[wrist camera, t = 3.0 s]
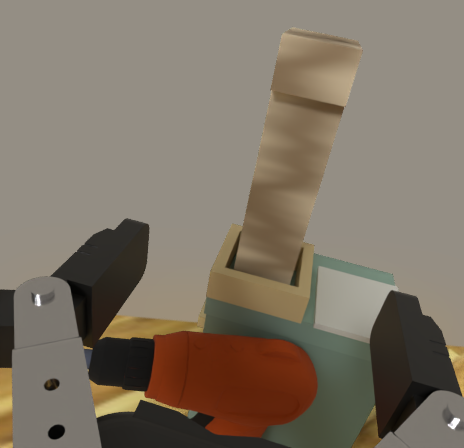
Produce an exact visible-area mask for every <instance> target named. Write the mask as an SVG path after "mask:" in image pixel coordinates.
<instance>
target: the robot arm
mask: <svg viewBox="0 0 464 448" xmlns="http://www.w3.org/2000/svg"><path fill="white" fill-rule="evenodd" d="M148 241H149V225H148V224H146V223H143V222H139V221H135V220H131V219H128V218H127V219H125V220H124V221H123V222H122V223H121V224H120V225H119V226H118V227H117V228H116V229H115V230H111V229H108V228H107V229H105V230H103V231H100V232H98V233H96V234H94V235H93V236H92V237H91V238H90V239H89V240H87V241H86V243H85V245H82V246H81V247H80V248H79V249H78V250H77V252H75V253H74V254H73V255H72V256H71V257H70V258H69V259H68V260H67V261H66V262H65V263H64V264H63V265H62V266H61V267H60V268H59V269H58V270H56V271H55V272H54V273H53V274H52V275H51V276H50V277H38V278H34V279H31V280H28V281H26V282H24V283H23V284H21V285H20V286H19V287H18V288H17V290H0V368H12V397H13V448H291V447H288V446H285V445H282V444H279V443H275V442H272V441H269V440H266V439H263V438H260V437H246V436H230V435H217V434H214V433H212V432H210V431H209V430H207V429H206V428H204V427H202V426H201V425H199V424H197V423H196V422H194V421H193V420H191V419H189V418H188V417H186V416H185V415H183V414H181V413H180V412H178V411H175V410H171V409H168V408H165V407H162V406H159V405H156V404H153V403H149V402H146V401H143V400H140V402H139V404H138V406H137V408H136V411H135V412H118V413H112V414H107V415H104V416H101V417H98V418H96V414H95V408H94V403H93V397H92V392H91V387H90V381H89V376H88V370H87V365H86V359H85V354H84V348H83V346H87V347H90V348H93V347H94V346H95V344H96V343H97V341H98V340H99V338H100V337H101V336H102V334H103V333H104V331H105V330H106V328H107V327H108V326H109V324H110V323H111V321H112V320H113V318H114V317H115V316H116V314H117V313H118V311H119V310H120V308H121V307H122V305H123V304H124V303H125V301H126V300H127V298H128V297H129V296H130V294H131V293H132V291H133V290H134V288H135V287H136V285H137V284H138V283H139V281H140V280H141V278H142V276H143V274H144V271H145V268H146V264H147V253H148ZM445 345H446V343H445V340H444V337H443V334H442V331H441V330H440V328H439V327H438V326H437V325H436V323H435V322H434V321H433V319H432V318H431V317H429V316H425V315H422V312H421V308H420V304H419V301H418V298H417V297H416V296H412V295H409V294H405V293H401V292H398V291H394V290H391V291H390V292H389V293H388V295H387V297H386V299H385V301H384V303H383V306H382V308H381V310H380V312H379V314H378V316H377V318H376V320H375V323H374V325H373V327H372V330H371V335H370V354H371V364H372V374H373V385H374V395H375V405H376V415H377V426H378V436H379V438H382V440H381V441H380V442H379V443H378V444H377V445H376V446H375V447H374V448H464V398H463V397H462V393H461V390H460V387H459V384H458V381H457V378H456V375H455V371H454V368H453V365H452V362H451V359H450V358H449V353H448V350H447V347H445Z"/></svg>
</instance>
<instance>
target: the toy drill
mask: <svg viewBox="0 0 464 448" xmlns="http://www.w3.org/2000/svg"><path fill="white" fill-rule="evenodd" d="M84 354H85V359H86V365H87V369H89V371H88V376H89V379H90V380H91V381H93V382H94V383H96V384H97V385H106V386H118V387H122V389H125V390H134V391H145V393H144V395H145V397H146V398H151V399H155V400H156V401H158V402H161V403H164V404H167V405H169V406H172V407H176V408H181V409H186V410H191V411H196V412H198V413H197V414H196V415H195V416H194V417H192V418H191V420H193V421H194V422H196V423H197V424H199V425H201V426H202V427H204V428H206V429H207V430H209V431H210V432H212V433H214V434H217V435H230V436H246V437H260V438H261V437H262V435H263V433H264V432H265V430H266V429H267V427H268V426H272V425H283V424H287V423H289V422H291V421H293V420H295V419H296V418H298V417H299V416H300V415H302V414H303V413H304V412H305V411H306V410H307V409H308V408H309V407H310V406H311V404H312V403H313V401H314V399H315V397H316V394H317V388H318V382H317V375H316V371H315V368H314V365H313V363H312V361H311V359H310V357H309V356H308V354H307V353H306V352H305V351H304V350H303V349H302V348H301V347H299V346H297V345H294V344H293V343H291V342H288V341H285V340H280V339H266V338H257V337H248V336H238V335H224V334H212V333H201V332H190V331H181V332H176V333H171V334H167V335H154V337H153V339H145V338H136V337H135V338H131V339H121V338H111V337H105V338H103V339H100V340H98V341H97V343H96V344H95V346H94V347H93V350H91V349H84Z"/></svg>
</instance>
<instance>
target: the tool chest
mask: <svg viewBox="0 0 464 448" xmlns="http://www.w3.org/2000/svg"><path fill="white" fill-rule="evenodd" d="M242 228H243V226H240V225H236V224H232V225H231V228H230V230H229V232H228V234H227V236H226V238H225V241H224V243H223V245H222V247H221V250H220V251H219V254H218V256H217V258H216V260H215V263H214V264H213V267H212V269H211V271H210V277H209V282H208V288H207V294H206V301H205V303H204V305H203V308H202V310H201V312H200V315H199V318H198V323H197V326H198V327H201V328H204V329H203V333H212V334H224V335H238V336H248V337H257V338H266V339H280V340H285V341H288V342H291V343H293V344H294V345H297V346H299V347H301V348H302V349H303V350H304V351H305V352H306V353H307V354H308V356H309V357H310V359H311V361H312V363H313V365H314V368H315V371H316V375H317V382H318V388H317V394H316V397H315V399H314V401H313V403H312V404H311V406H310V407H309V408H308V409H307V410H306V411H305V412H304V413H303V414H302V415H300V416H299V417H298V418H296V419H295V420H293V421H291V422H289V423H287V424H283V425H272V426H268V427H267V429H266V430H265V432H264V433H263V435H262V437H261V438H263V439H266V440H269V441H272V442H275V443H279V444H282V445H285V446H288V447H291V448H351V447H352V445H353V443H354V441H355V440H356V438H357V436H358V434H359V432H360V431H361V429H362V427H363V425H364V423H365V421H366V420H367V418H368V416H369V414H370V412H371V411H372V409H373V407H374V405H375V395H374V385H373V374H372V364H371V354H370V335H371V330H372V327H373V325H374V323H375V320H376V318H377V316H378V314H379V312H380V310H381V308H382V306H383V303H384V301H385V299H386V297H387V295H388V293H389V292H390V291H391V290H394V291H398V287H396V286H395V283H394V278H393V274H390V273H386V272H383V271H378V270H375V269H371V268H367V267H364V266H360V265H356V264H352V263H348V262H344V261H341V260H337V259H333V258H329V257H326V256H321V255H318V254H314V245H312V244H308V243H305V242H303V243H302V246H301V249H300V253H299V256H298V259H297V262H296V266H295V269H294V272H293V275H292V279H291V282H290V285H288V284H284V283H280V282H277V281H273V280H269V279H266V278H262V277H258V276H255V275H251V274H247V273H244V272H240V271H236V270H234V265H235V261H236V256H237V251H238V247H239V242H240V237H241V233H242ZM398 292H399V291H398ZM197 413H198V412H196V411H191V410H189V412H188V418H189V419H191V418H192V417H194V416H195V415H196V414H197Z"/></svg>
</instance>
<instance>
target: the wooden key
mask: <svg viewBox="0 0 464 448" xmlns="http://www.w3.org/2000/svg"><path fill="white" fill-rule="evenodd" d="M362 52H363V50H362V48H361V46H360V44H359V42H358V41H356V40H351V39H346V38H342V37H337V36H332V35H327V34H322V33H317V32H312V31H308V30H303V29H298V28H291V29H289V30H288V31H286V32H284V33H283V34H282V38H281V43H280V47H279V52H278V57H277V61H276V66H275V71H274V75H273V80H272V85H271V90H272V92H271V96H270V101H269V105H268V110H267V115H266V120H265V124H264V129H263V134H262V138H261V144H260V148H259V152H258V157H257V162H256V167H255V171H254V176H253V181H252V185H251V190H250V195H249V200H248V205H247V209H246V214H245V219H244V223H243V228H242V233H241V237H240V242H239V247H238V251H237V256H236V261H235V265H234V270H236V271H240V272H244V273H247V274H251V275H255V276H258V277H262V278H266V279H269V280H273V281H277V282H280V283H284V284H288V285H290V282H291V279H292V275H293V272H294V269H295V266H296V262H297V259H298V256H299V253H300V249H301V246H302V243H303V240H304V236H305V233H306V230H307V227H308V223H309V220H310V217H311V214H312V210H313V207H314V204H315V200H316V197H317V194H318V191H319V188H320V184H321V181H322V178H323V174H324V171H325V168H326V165H327V161H328V158H329V155H330V152H331V149H332V145H333V142H334V139H335V135H336V132H337V129H338V126H339V123H340V119H341V116H342V113H343V110H344V107H346V104H347V100H348V97H349V94H350V91H351V88H352V84H353V81H354V78H355V75H356V71H357V68H358V65H359V62H360V58H361V55H362Z"/></svg>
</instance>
